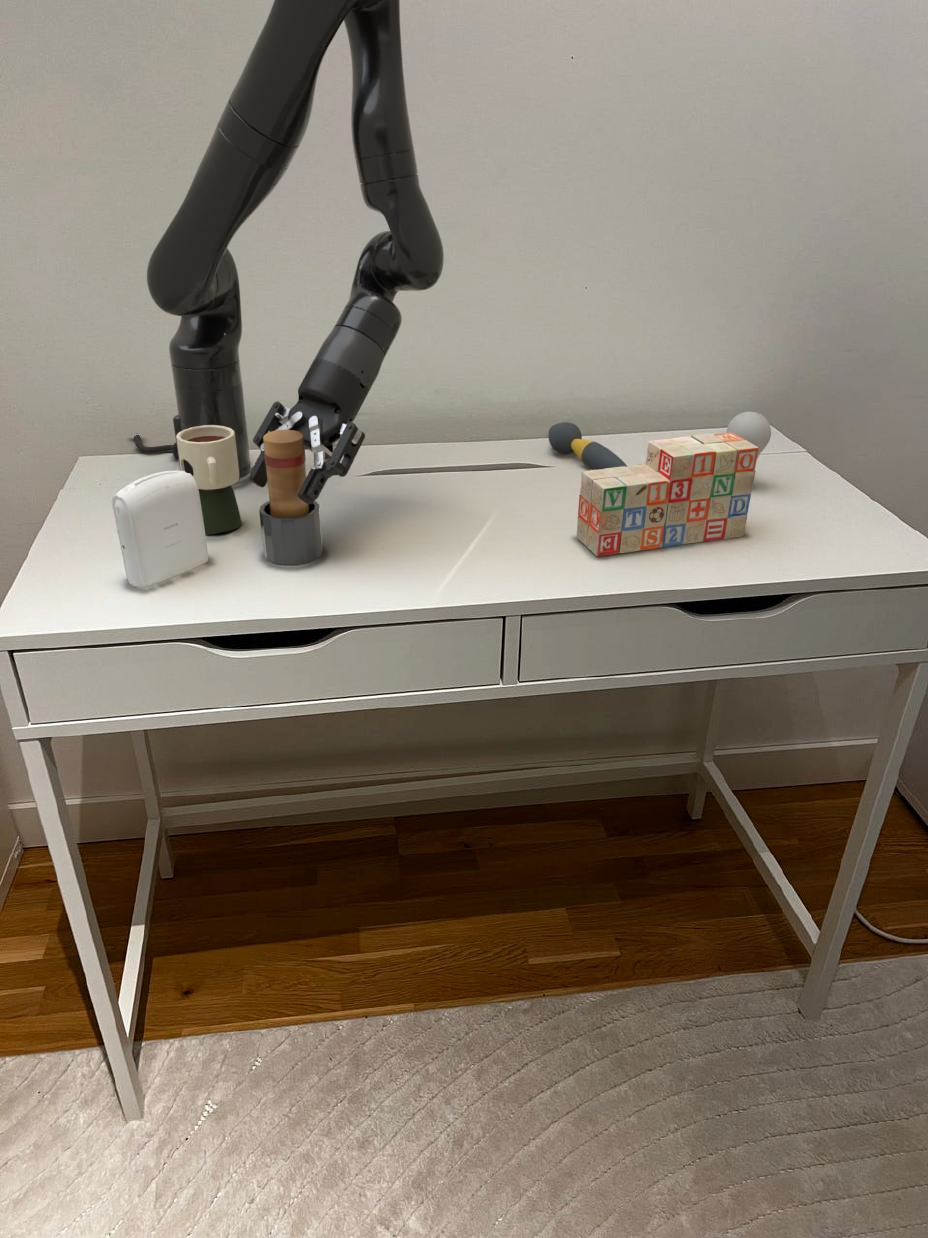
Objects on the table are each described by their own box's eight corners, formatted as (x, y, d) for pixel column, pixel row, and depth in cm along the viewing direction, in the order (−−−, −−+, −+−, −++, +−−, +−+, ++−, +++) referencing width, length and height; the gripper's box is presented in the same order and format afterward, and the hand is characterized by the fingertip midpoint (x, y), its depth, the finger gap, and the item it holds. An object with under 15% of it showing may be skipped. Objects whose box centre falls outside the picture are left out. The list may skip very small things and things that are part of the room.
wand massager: (646, 478, 144) (650, 445, 141) (623, 485, 141) (626, 453, 139) (556, 442, 157) (557, 412, 155) (533, 448, 155) (534, 418, 152)
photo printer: (142, 594, 111) (124, 493, 105) (121, 582, 114) (102, 484, 108) (215, 563, 118) (202, 468, 112) (193, 553, 121) (180, 459, 115)
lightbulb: (715, 490, 140) (726, 416, 135) (722, 475, 145) (733, 403, 140) (758, 496, 138) (771, 421, 133) (764, 481, 143) (776, 409, 138)
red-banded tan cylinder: (267, 557, 119) (254, 440, 111) (284, 542, 123) (274, 427, 115) (302, 563, 117) (292, 444, 110) (319, 547, 121) (310, 431, 114)
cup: (254, 564, 118) (248, 514, 115) (281, 540, 124) (276, 493, 121) (307, 572, 116) (303, 522, 113) (332, 548, 122) (328, 500, 119)
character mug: (185, 516, 130) (172, 423, 124) (239, 510, 133) (228, 417, 126) (194, 550, 122) (180, 451, 115) (251, 542, 124) (240, 444, 117)
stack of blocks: (596, 558, 120) (604, 464, 114) (575, 538, 125) (582, 447, 119) (745, 536, 126) (760, 445, 120) (719, 517, 132) (732, 430, 125)
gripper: (283, 347, 118) (219, 463, 116) (369, 367, 110) (303, 492, 108) (317, 381, 124) (258, 492, 122) (401, 402, 116) (339, 521, 114)
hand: (279, 492), depth 115 cm, fingers open, 8 cm apart
